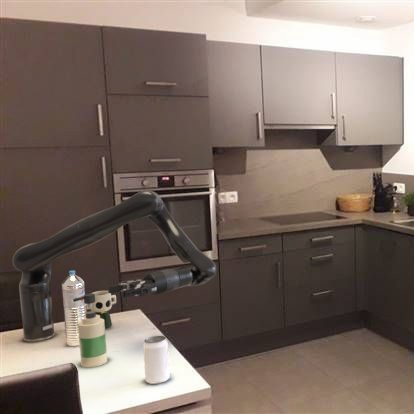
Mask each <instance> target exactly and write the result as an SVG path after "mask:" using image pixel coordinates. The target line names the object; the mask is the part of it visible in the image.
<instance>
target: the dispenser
mask: <svg viewBox="0 0 414 414" xmlns="http://www.w3.org/2000/svg"><path fill="white" fill-rule="evenodd" d="M78 329H79V344H80V345H79V356H80V365H81V366H82V367H83V368H94V367H95V368H96V367H99V366H102V365H104V364H106V363H107V362H108V349H107V348H108V347H107V335H106V326H105V322H104V319H102V318H100V315H96V311H91V310H89V311H87V312H86V316H85V317H83V318H82V321H81V322H79V323H78Z"/></svg>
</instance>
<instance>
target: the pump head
mask: <svg viewBox="0 0 414 414" xmlns="http://www.w3.org/2000/svg"><path fill="white" fill-rule="evenodd" d="M79 300H84V303H85V304H88V308H92V303H94V302H95V294H93V292H91V293H85V295H84V296H83V297H79V298H74V299H73V301H79Z"/></svg>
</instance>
